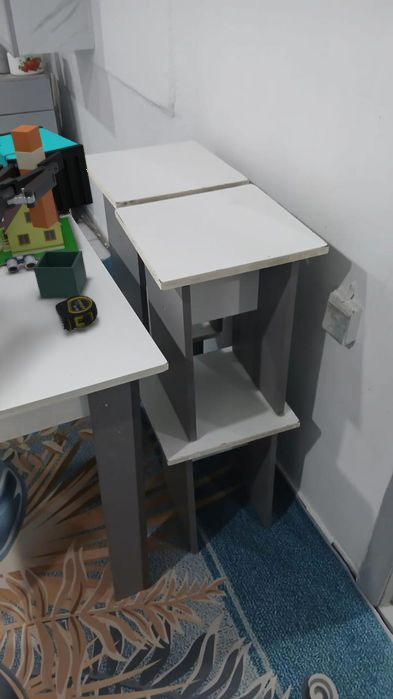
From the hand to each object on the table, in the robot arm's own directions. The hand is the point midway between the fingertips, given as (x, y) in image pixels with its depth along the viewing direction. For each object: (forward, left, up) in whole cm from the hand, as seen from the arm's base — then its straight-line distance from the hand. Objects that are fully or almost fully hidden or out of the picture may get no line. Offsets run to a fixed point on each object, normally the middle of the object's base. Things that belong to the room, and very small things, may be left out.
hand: (50, 158), depth 92 cm
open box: (-2, -1, -25) cm, 25 cm away
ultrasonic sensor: (-13, +8, -26) cm, 30 cm away
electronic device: (-22, +41, -25) cm, 52 cm away
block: (-1, -5, -10) cm, 11 cm away
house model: (-15, +20, -25) cm, 35 cm away
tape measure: (+3, -13, -25) cm, 29 cm away
